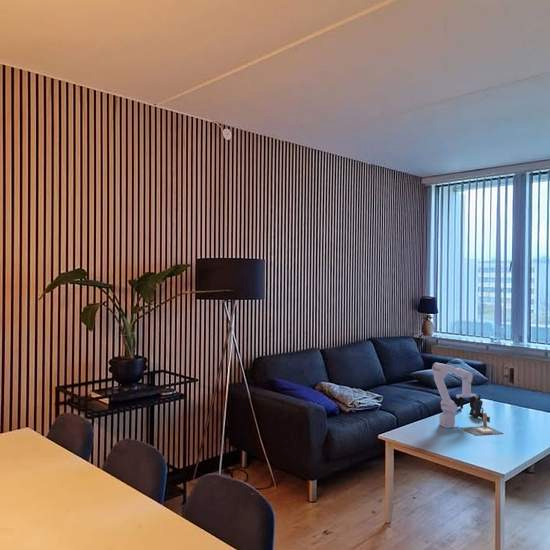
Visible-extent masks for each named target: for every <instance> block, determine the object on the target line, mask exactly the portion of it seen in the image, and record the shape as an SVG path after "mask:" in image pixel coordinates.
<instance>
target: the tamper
mask: <svg viewBox="0 0 550 550" xmlns="http://www.w3.org/2000/svg"><path fill="white" fill-rule="evenodd" d="M487 416H488V415H487V412H483V419H482V422H483V423H482V424H481V425H480V426H481V427H482V428H485V427H486V428H489V427H490V426H489V425H488V424H487V423H488V421H487Z"/></svg>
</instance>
